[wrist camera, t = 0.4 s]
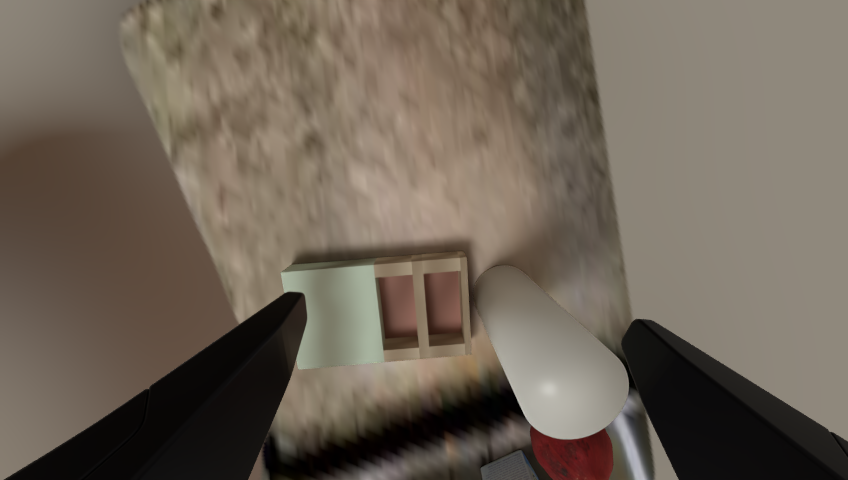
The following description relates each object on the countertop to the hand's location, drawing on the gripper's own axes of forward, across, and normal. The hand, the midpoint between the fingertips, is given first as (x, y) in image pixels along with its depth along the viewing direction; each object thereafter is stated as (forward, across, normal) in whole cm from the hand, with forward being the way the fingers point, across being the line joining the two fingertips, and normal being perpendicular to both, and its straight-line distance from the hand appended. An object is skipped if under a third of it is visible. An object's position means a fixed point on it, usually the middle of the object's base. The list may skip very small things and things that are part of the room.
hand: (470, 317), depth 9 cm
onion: (+11, -12, +20) cm, 26 cm away
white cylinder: (+14, -6, +10) cm, 18 cm away
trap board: (+13, +4, +12) cm, 18 cm away
